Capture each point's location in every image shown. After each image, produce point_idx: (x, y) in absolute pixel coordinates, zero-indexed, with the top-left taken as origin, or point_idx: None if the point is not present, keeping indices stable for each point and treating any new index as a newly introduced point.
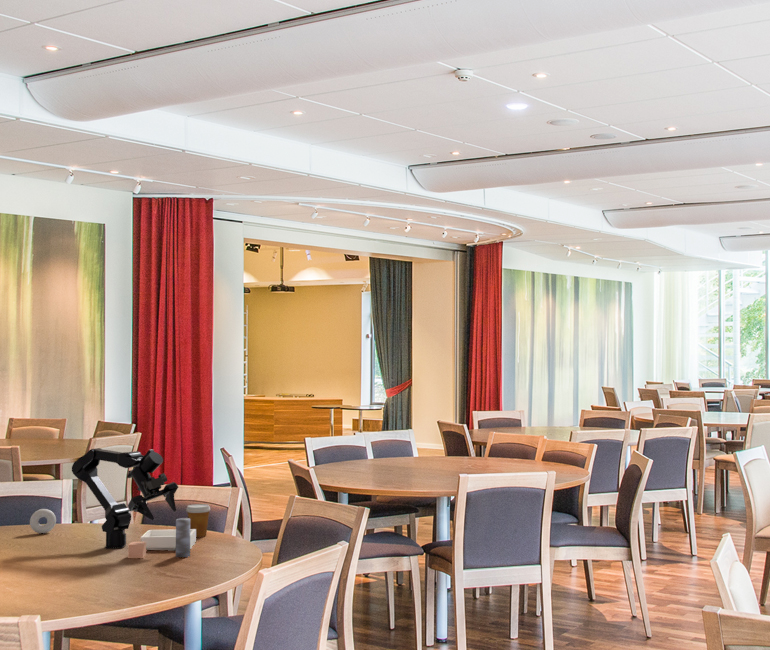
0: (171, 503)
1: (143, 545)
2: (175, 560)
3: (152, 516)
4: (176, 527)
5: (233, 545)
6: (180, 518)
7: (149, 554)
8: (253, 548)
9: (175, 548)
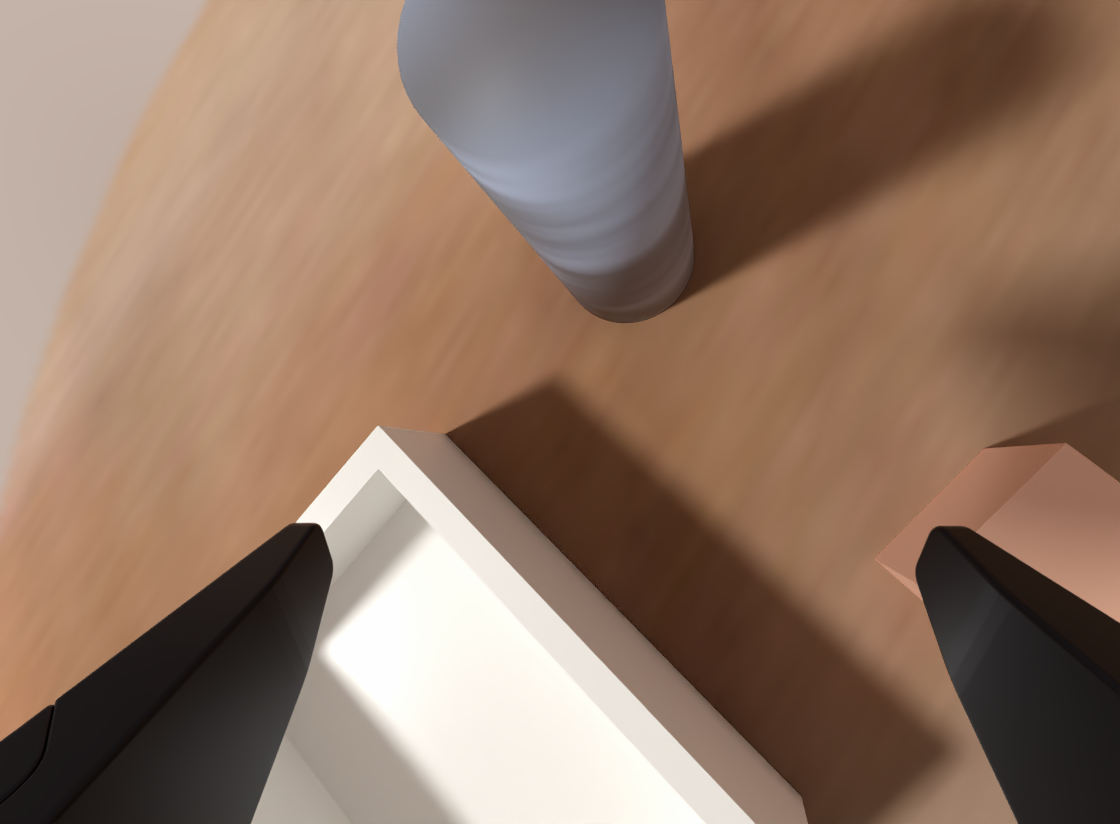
0: (195, 738)
1: (1027, 470)
2: (774, 149)
3: (1008, 570)
4: (672, 104)
5: (147, 329)
6: (502, 140)
7: (817, 570)
8: (132, 139)
9: (530, 529)
